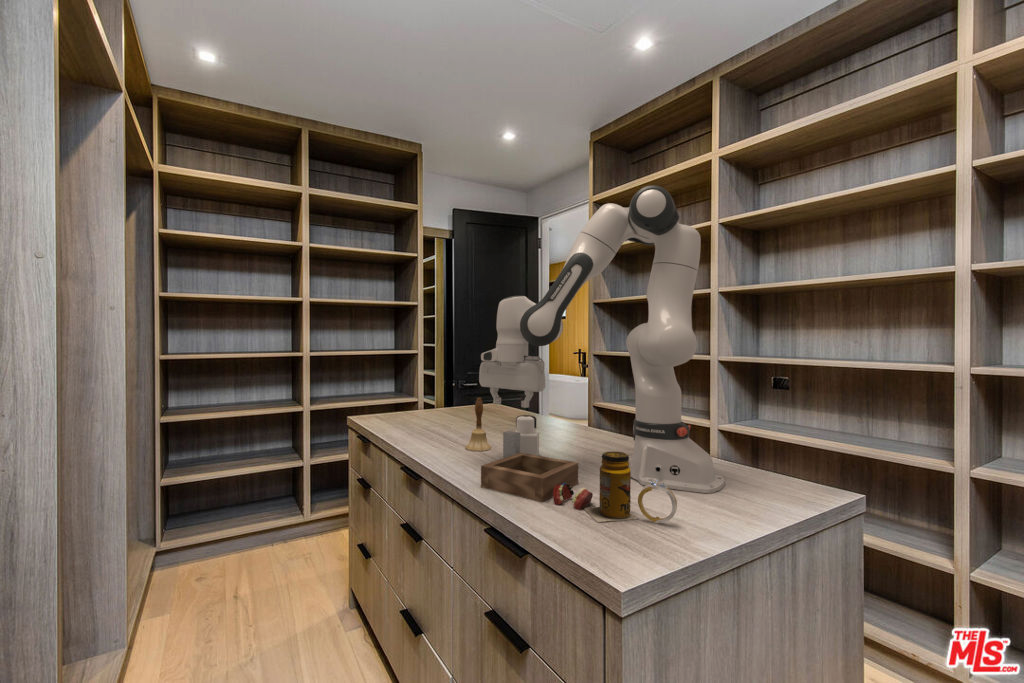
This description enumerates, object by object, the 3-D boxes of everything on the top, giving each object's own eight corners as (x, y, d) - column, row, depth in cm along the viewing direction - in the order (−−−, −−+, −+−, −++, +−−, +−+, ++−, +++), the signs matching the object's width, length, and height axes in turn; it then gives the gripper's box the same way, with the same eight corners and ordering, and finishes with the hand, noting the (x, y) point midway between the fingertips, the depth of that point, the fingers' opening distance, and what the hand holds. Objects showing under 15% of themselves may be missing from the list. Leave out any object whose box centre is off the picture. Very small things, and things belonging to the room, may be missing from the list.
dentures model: (584, 491, 97) (550, 484, 101) (584, 512, 96) (549, 504, 101) (596, 485, 101) (562, 479, 106) (595, 505, 101) (562, 498, 106)
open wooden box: (578, 483, 115) (578, 462, 115) (542, 501, 102) (543, 478, 102) (519, 471, 125) (519, 452, 125) (480, 487, 112) (480, 465, 112)
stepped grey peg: (523, 464, 132) (524, 431, 132) (511, 468, 127) (511, 435, 127) (512, 461, 135) (512, 429, 135) (499, 466, 130) (499, 433, 130)
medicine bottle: (515, 453, 144) (515, 413, 144) (539, 454, 143) (539, 414, 143) (512, 459, 137) (512, 417, 137) (537, 460, 136) (537, 418, 136)
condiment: (638, 519, 92) (639, 457, 92) (597, 523, 90) (598, 459, 90) (621, 506, 99) (622, 448, 99) (583, 509, 98) (583, 450, 97)
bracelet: (678, 524, 90) (678, 481, 90) (673, 530, 87) (673, 486, 87) (641, 516, 94) (642, 475, 94) (636, 521, 91) (636, 479, 91)
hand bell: (497, 448, 151) (497, 397, 151) (477, 452, 145) (477, 400, 145) (479, 444, 157) (479, 395, 157) (459, 448, 151) (460, 397, 151)
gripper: (550, 356, 127) (549, 408, 128) (490, 353, 139) (489, 401, 139) (537, 357, 122) (536, 411, 122) (476, 354, 134) (475, 403, 134)
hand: (510, 405), depth 131 cm, fingers open, 8 cm apart
